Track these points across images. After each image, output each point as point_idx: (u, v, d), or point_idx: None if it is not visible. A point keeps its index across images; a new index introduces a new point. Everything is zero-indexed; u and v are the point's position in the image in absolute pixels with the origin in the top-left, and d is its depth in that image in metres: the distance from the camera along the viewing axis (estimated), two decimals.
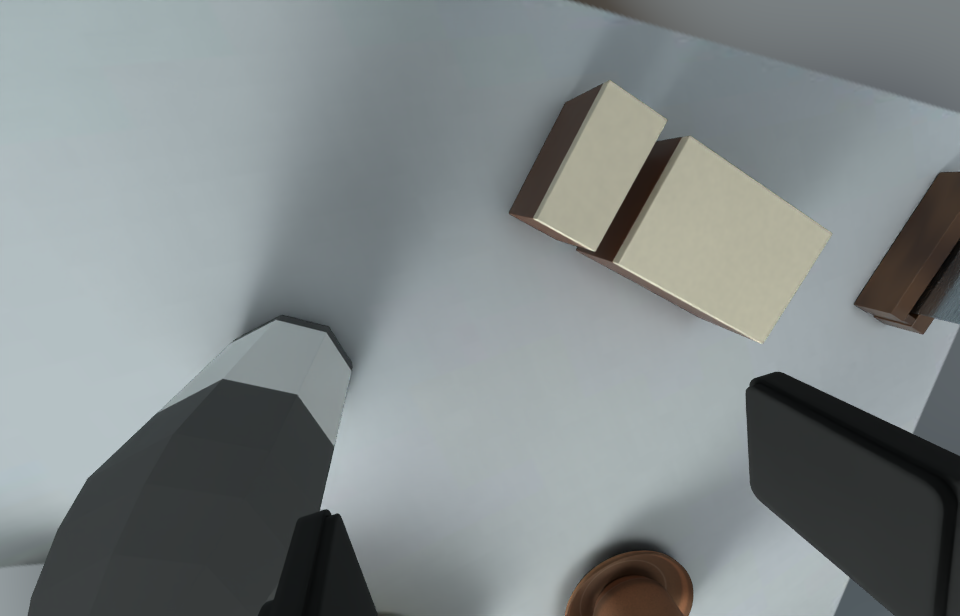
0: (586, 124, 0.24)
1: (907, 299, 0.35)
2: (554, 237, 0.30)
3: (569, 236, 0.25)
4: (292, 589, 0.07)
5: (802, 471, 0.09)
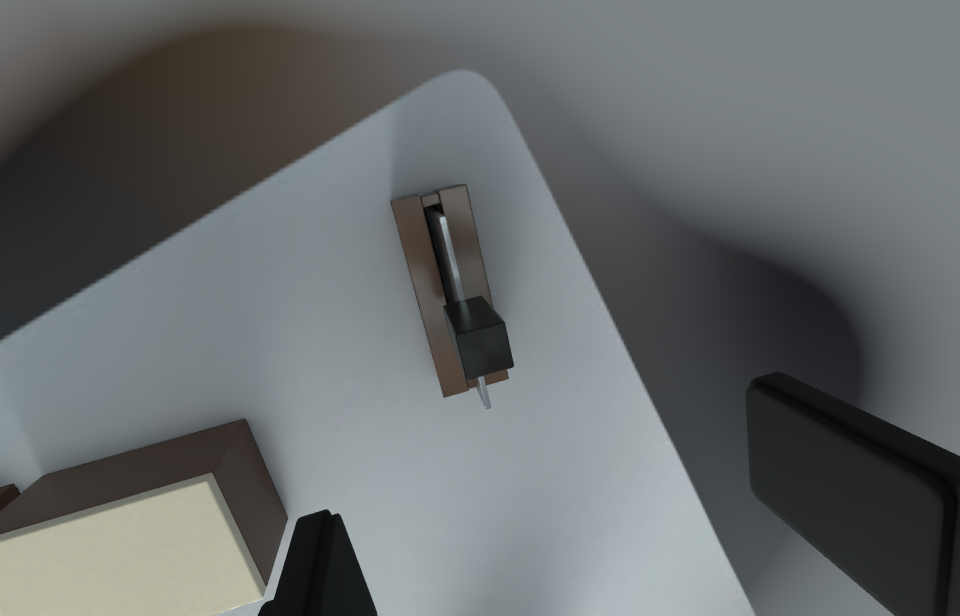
0: None
1: (447, 372, 0.27)
2: None
3: None
4: (292, 589, 0.07)
5: (802, 471, 0.09)
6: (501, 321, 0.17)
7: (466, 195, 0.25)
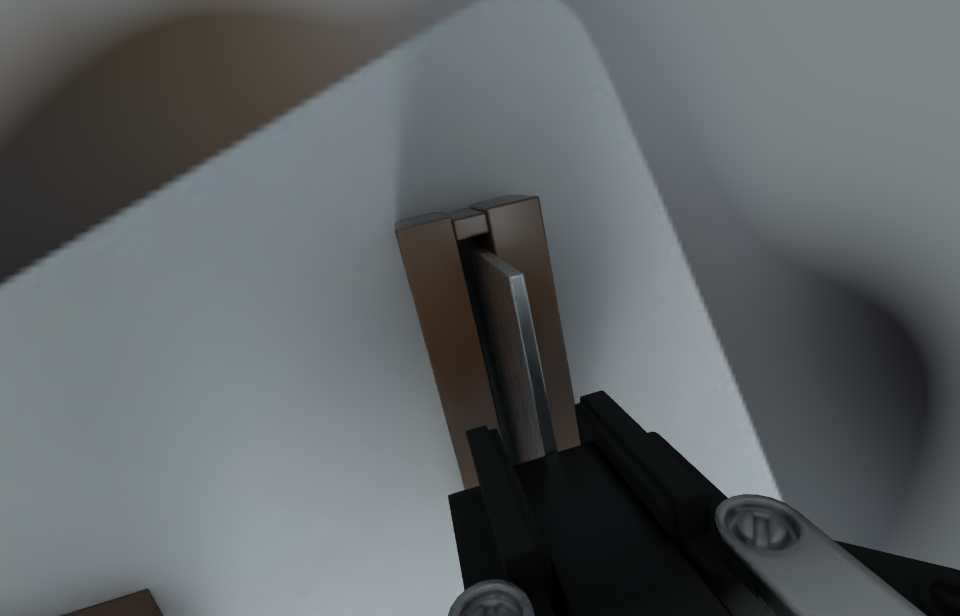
0: None
1: None
2: None
3: None
4: (491, 472, 0.09)
5: None
6: None
7: (538, 217, 0.13)
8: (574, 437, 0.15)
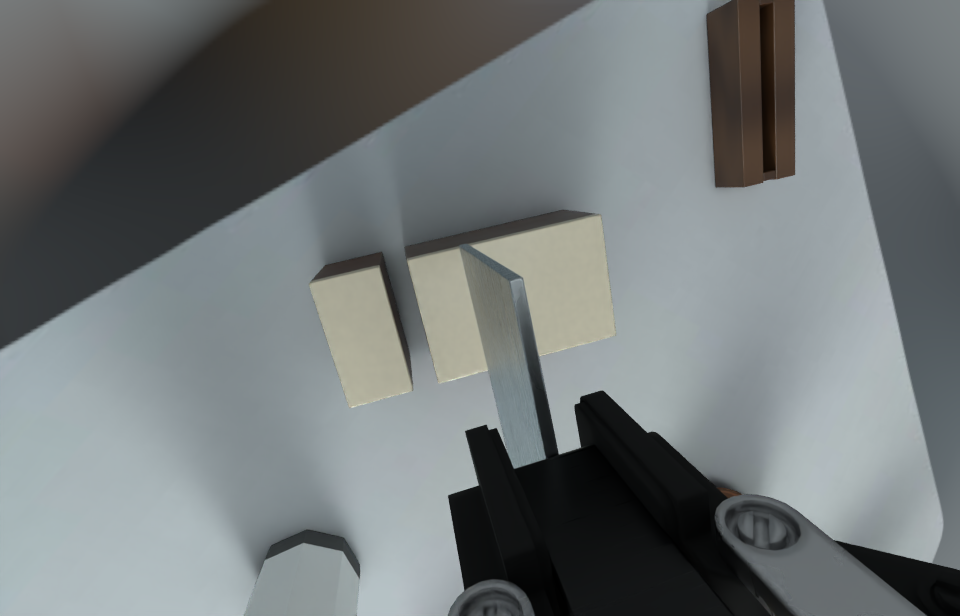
0: (322, 324, 0.26)
1: (750, 163, 0.32)
2: None
3: (383, 398, 0.28)
4: (491, 472, 0.09)
5: None
6: None
7: None
8: (792, 117, 0.32)
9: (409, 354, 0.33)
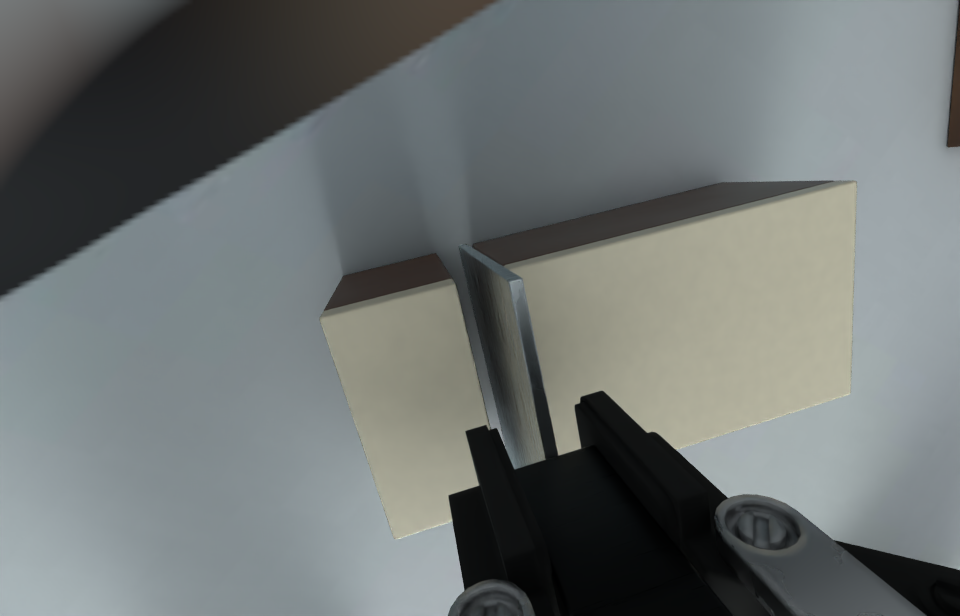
0: (345, 393, 0.13)
1: None
2: None
3: None
4: (492, 472, 0.09)
5: None
6: None
7: None
8: None
9: None
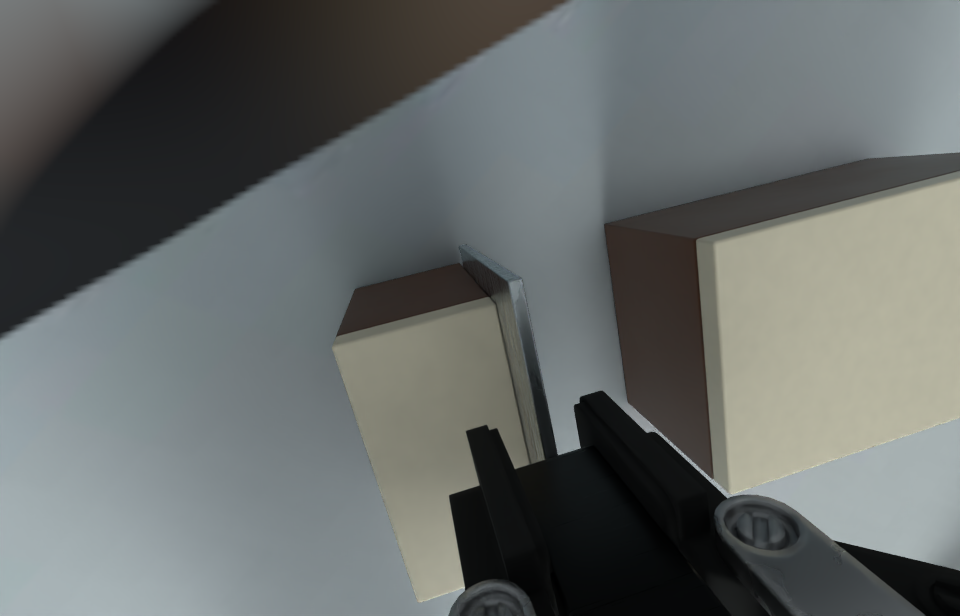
0: (362, 435, 0.11)
1: None
2: None
3: None
4: (492, 471, 0.09)
5: None
6: None
7: None
8: None
9: None
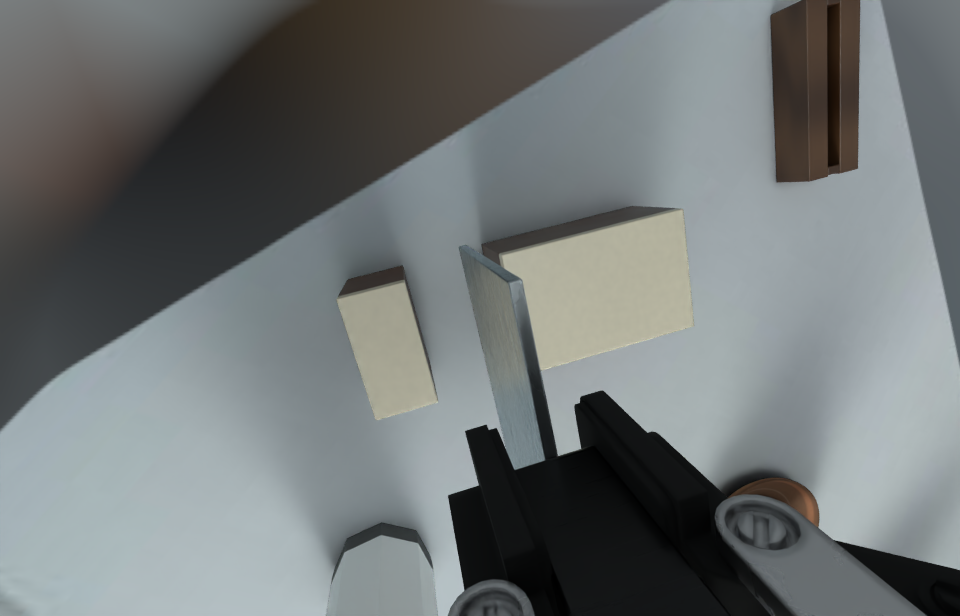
0: (349, 338, 0.26)
1: (816, 157, 0.33)
2: None
3: (409, 410, 0.28)
4: (491, 472, 0.09)
5: None
6: None
7: None
8: (856, 113, 0.33)
9: (430, 365, 0.34)
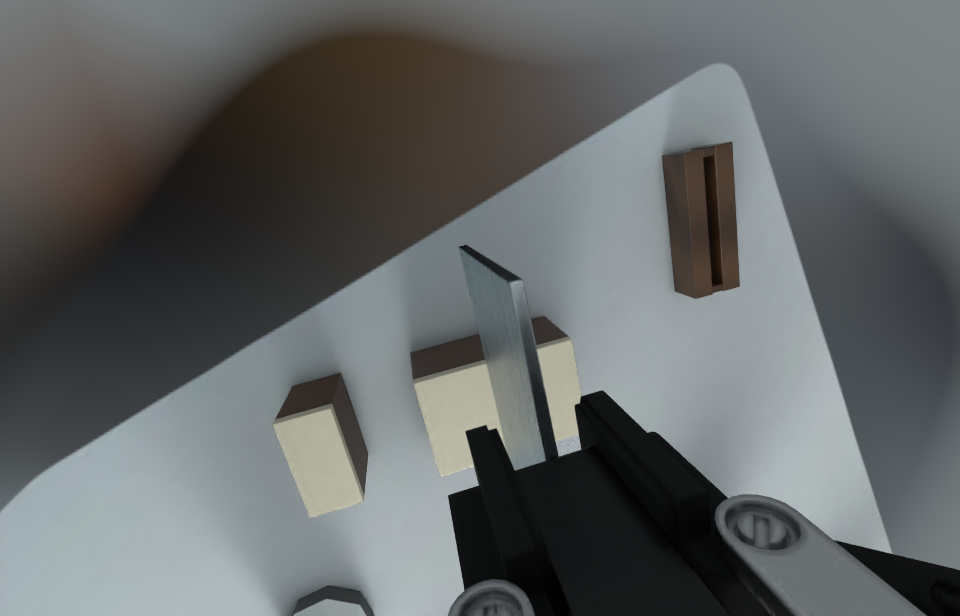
0: (284, 454, 0.31)
1: (701, 279, 0.38)
2: None
3: (338, 508, 0.33)
4: (492, 472, 0.09)
5: None
6: None
7: (731, 149, 0.35)
8: (735, 242, 0.38)
9: (367, 455, 0.39)
